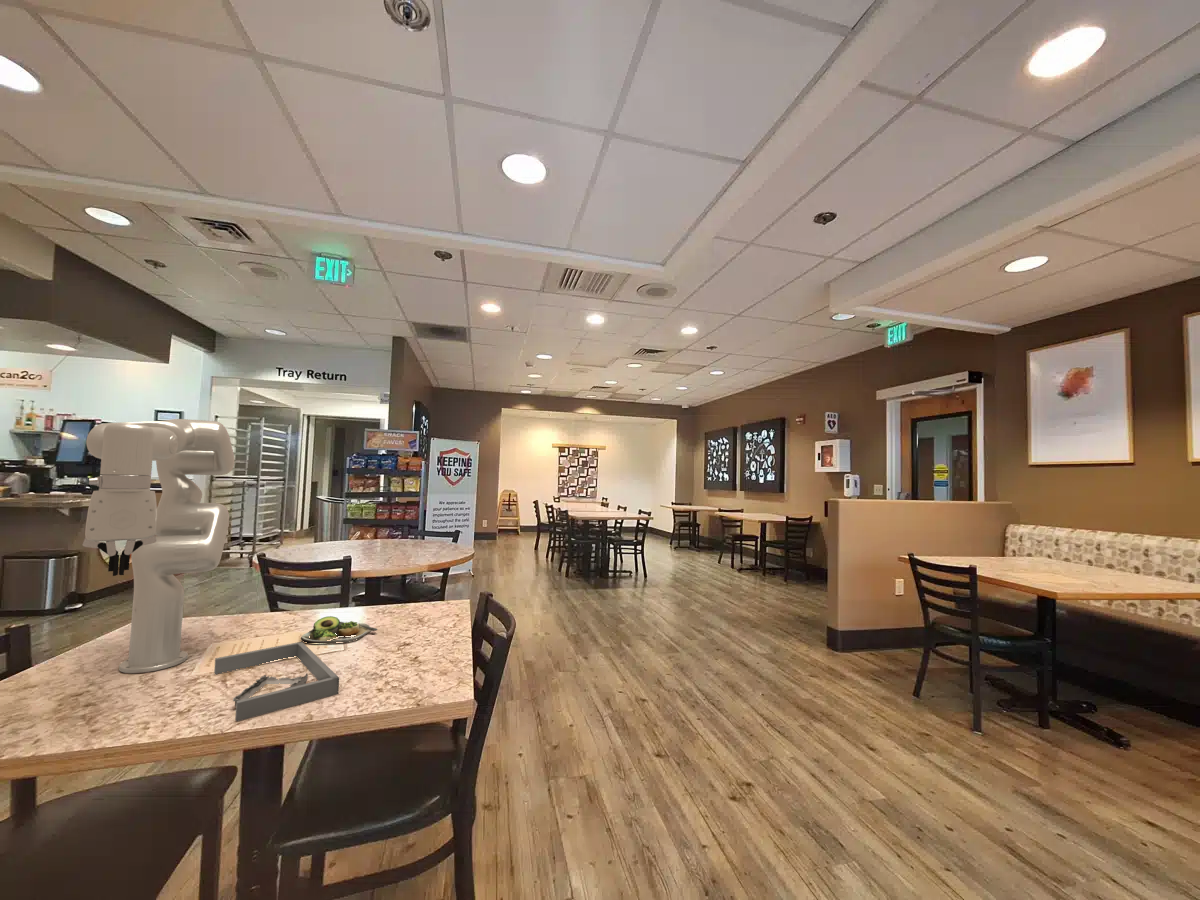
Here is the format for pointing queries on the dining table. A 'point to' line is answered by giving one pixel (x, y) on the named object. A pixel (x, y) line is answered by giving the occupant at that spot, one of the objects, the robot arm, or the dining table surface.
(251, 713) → the box
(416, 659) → the dining table surface
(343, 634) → the salad plate
